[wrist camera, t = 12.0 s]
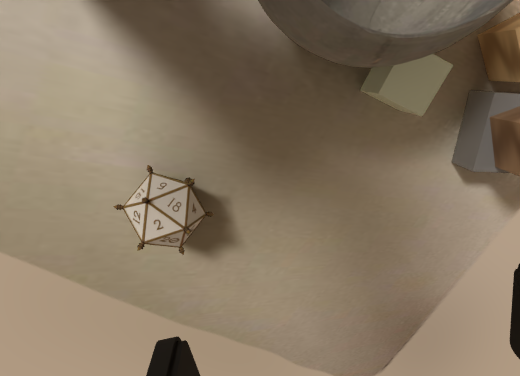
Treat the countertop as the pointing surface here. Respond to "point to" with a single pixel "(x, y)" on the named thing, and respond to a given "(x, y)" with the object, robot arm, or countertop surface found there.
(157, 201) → the game die
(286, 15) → the bowl
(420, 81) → the sage cube
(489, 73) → the oak cube
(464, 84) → the countertop surface
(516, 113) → the walnut cube
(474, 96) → the base block
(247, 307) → the countertop surface
